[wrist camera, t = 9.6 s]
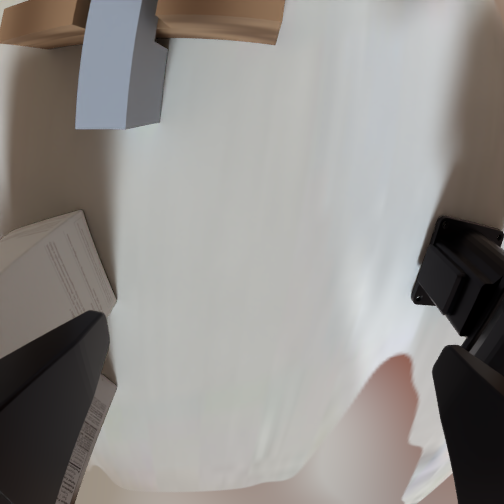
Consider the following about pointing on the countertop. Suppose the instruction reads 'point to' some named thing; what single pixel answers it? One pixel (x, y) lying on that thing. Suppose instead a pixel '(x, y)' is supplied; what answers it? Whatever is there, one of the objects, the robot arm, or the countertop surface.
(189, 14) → the walnut block
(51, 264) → the supplement box
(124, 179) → the countertop surface
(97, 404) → the coffee box
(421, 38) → the countertop surface
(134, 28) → the pale blue pillar
